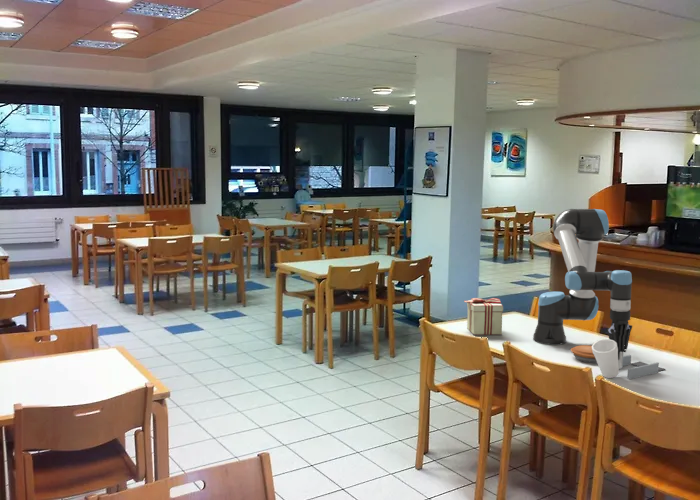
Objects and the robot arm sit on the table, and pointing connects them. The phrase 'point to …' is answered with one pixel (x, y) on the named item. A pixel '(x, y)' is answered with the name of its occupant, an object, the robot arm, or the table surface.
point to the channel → (639, 368)
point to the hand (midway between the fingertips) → (618, 367)
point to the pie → (584, 353)
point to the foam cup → (606, 357)
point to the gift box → (484, 316)
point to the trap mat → (645, 364)
